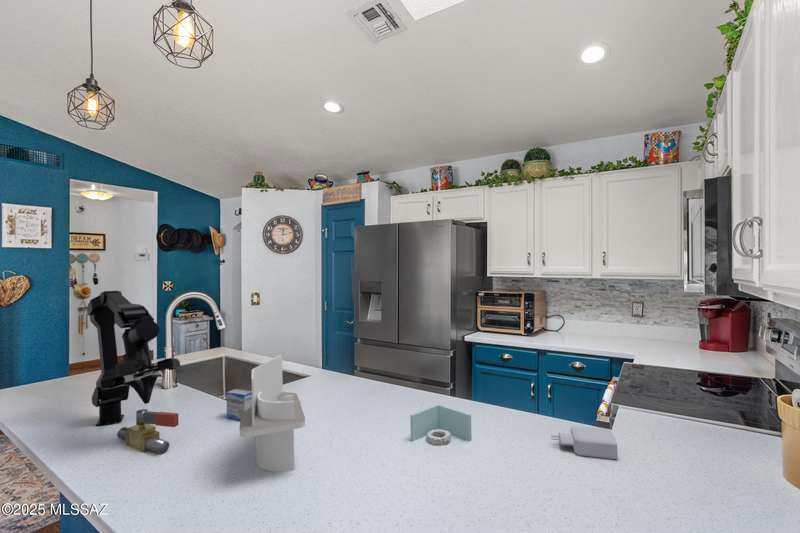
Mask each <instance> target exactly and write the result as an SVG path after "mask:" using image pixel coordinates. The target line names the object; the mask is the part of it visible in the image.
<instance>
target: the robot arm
mask: <svg viewBox="0 0 800 533" xmlns="http://www.w3.org/2000/svg"><path fill="white" fill-rule="evenodd" d="M86 314H87V315H88V316H89V322H90V323H91V324H92V325H93V326H94V327H95V328H96V331H97V341H98V342H97V343H98V351H99V359H100V360H99V361H100V362H99V363H100V375H99V376H98V378H97V379H96V382H95V387H94V390H93V394H92V395H91V403H92V406H94V407H95V408H98V411H99V412H98V413H99V415H98V416H99V417H98V418H99V419H98V420H97V422H96V424H95V426H96V427H99V426H104V425H105V426H106V425H112V424H117V423H118V424H119V423H121V422H122V421H123V419H124V417H125V414H122V401H127V400H128V399H129V393H130V389H131V388H132V389H133V390H134V391H135V392H136V393H137V395H138V396H139V398H140V399H141V400H142V403H143V404H145V405H147V404H149V403H150V400H151V397H152V394H153V390H154V387H155V384H156V382H157V379H158V378H159V377H161V374H159V371H164V370H168V371H172V370H176V369H179V368H181V361H180V359H178V358H177V357H169V358H164V359H162V360H158V361H157V362H156V364H154V363H152V362H153V361H152V357H151V354H152V355H153V351H152V350H151V349H150V346H149V343H150V342H151V341H153V340H154V339H156V338H157V337H158V336H159V334H160V326H159V325H158V323H156V321H155V318H154V317H153V316H152V315H151V313H149V310H148V309H147V308H146V307H145V306H144V305H141V304H139V303H138V304H136V303H131V302H130V301H129V300H128V299H127V298H126V297H125V296H124V295H123V294H122V291H120V290H104V291H101V292H100V294H99V295H97V296H96V297H94V298H92V299H90V300H89V302H88V304H87V307H86ZM115 325H117V326H118V328H120V329H124V332H123V333H122V335H121V338H122V343H123V348H124V352H125V353H124V354H123V355H122V359H123V360H122V361H120V362H119V359H118V358H119V357H118V348H117V338H116V329H115ZM130 387H131V388H130Z"/></svg>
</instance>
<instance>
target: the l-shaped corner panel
mask: <svg viewBox="0 0 800 533" xmlns="http://www.w3.org/2000/svg"><path fill="white" fill-rule="evenodd" d="M409 416H410V417H409V419H410V424H409V425H410V442H416V441H417V440H419V439H422V438H424V437H426V439H425V440H426V441H427V442H428V444H431V445H432V446H437V447H438V446H442V447H443V446H445V445H448V444H450V442H452V441H451V440H452V438H451V437H452V436H453V437H457V438H459V439H463V440H464V441H467V442H471V441H473V440H472V439H473V438H472V437H473V436H472V413H468V412H466V411H462V410H459V409H457V408H453V407H450V406H447V405H443V404H440V403H437V404H434V405H432V406H430V407H427V408H424V409H422V410H419V411H416V412H414V413H412V414H410V415H409Z"/></svg>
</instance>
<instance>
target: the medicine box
mask: <svg viewBox="0 0 800 533" xmlns="http://www.w3.org/2000/svg"><path fill="white" fill-rule="evenodd" d="M250 407H252V390H247V389H237V388H233V389H232V390H231V389H230V390H229V391H227V392H226V419H227V420H234V421H241V414H242V413H243V412H245V411H246V410H247V409H249V408H250Z"/></svg>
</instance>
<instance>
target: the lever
mask: <svg viewBox="0 0 800 533" xmlns="http://www.w3.org/2000/svg"><path fill="white" fill-rule="evenodd" d="M135 419H136V420H135V422H136V424H135V425H144V424H150V425H153V426H158V427H168V428H175V427H176V428H177V427H178V426H179V413H177V412H168V411H167V412H166V411H152V410H151V411H149V410H148V409H147V408H143V409H139V410H136V411H135Z"/></svg>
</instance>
